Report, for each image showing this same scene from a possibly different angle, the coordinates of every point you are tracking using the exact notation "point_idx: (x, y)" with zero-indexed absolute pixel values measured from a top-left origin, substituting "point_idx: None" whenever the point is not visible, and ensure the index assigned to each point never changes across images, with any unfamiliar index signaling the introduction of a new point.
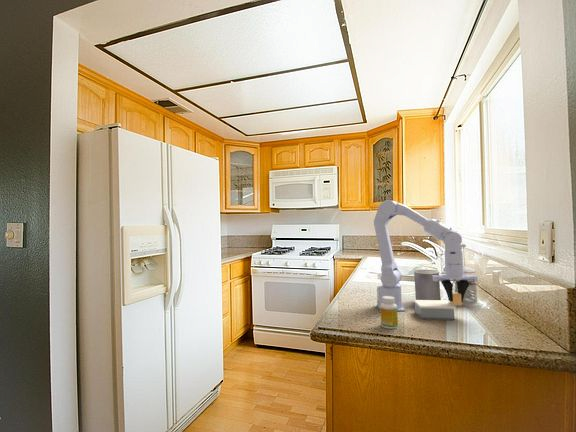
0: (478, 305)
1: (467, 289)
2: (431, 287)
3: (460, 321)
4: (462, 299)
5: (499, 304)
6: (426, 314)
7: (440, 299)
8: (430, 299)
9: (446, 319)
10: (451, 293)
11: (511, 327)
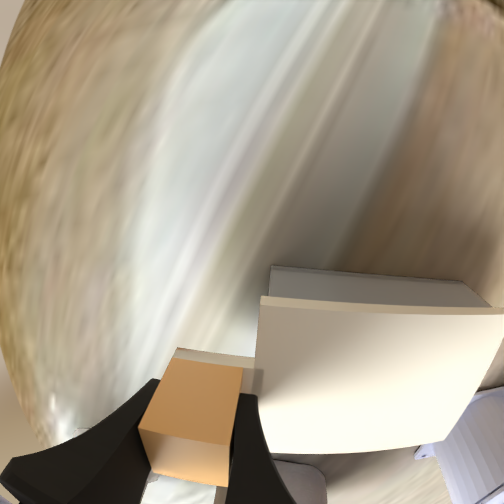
0: (79, 429)
1: None
2: None
3: (244, 237)
4: (146, 389)
5: (26, 413)
6: (452, 293)
7: (221, 488)
8: None
9: (326, 270)
10: (244, 452)
11: (32, 147)
